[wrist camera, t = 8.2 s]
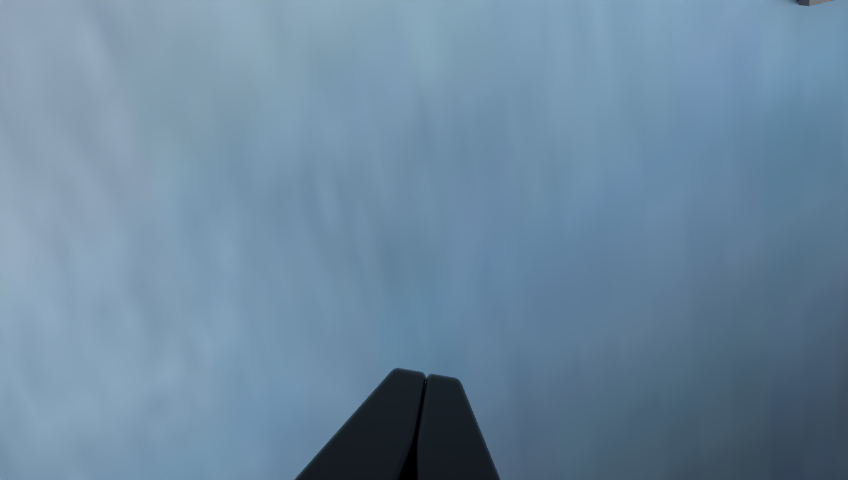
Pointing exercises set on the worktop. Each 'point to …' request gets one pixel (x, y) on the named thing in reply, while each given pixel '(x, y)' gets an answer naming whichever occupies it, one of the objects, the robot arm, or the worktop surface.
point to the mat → (812, 2)
